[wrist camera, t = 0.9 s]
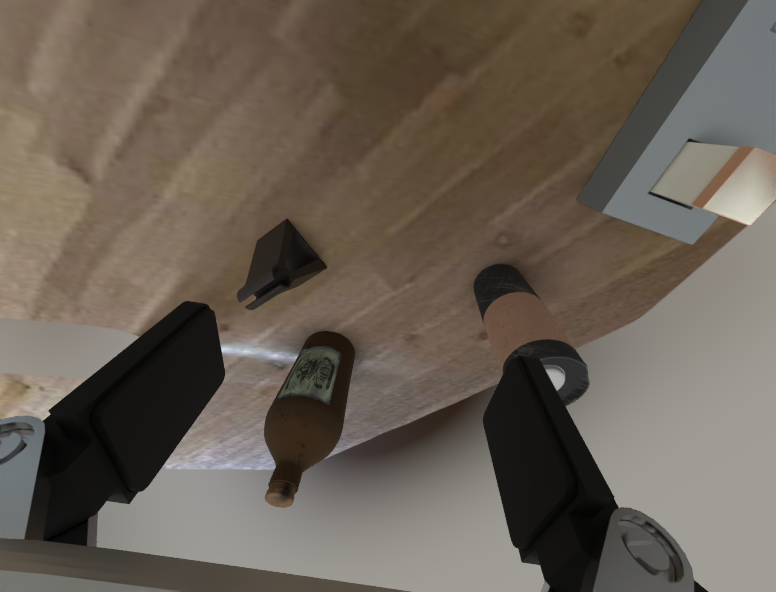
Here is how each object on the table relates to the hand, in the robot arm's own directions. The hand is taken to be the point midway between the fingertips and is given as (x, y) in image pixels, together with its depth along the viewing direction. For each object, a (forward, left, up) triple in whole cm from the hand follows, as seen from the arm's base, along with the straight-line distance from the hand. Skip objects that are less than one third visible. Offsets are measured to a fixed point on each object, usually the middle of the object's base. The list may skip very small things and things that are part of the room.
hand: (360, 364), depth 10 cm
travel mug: (+20, +8, -34) cm, 41 cm away
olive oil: (+23, -23, -34) cm, 47 cm away
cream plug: (+10, +29, -34) cm, 46 cm away
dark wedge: (+4, -19, -34) cm, 39 cm away
